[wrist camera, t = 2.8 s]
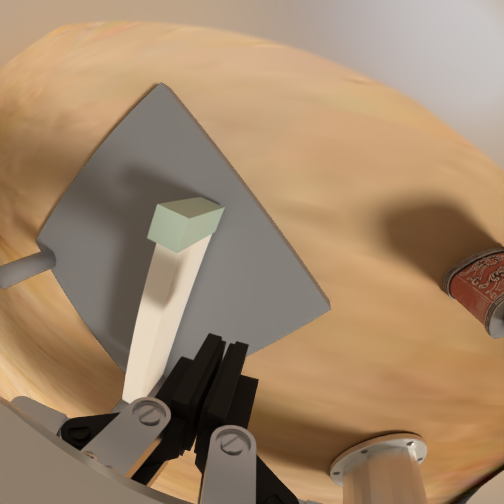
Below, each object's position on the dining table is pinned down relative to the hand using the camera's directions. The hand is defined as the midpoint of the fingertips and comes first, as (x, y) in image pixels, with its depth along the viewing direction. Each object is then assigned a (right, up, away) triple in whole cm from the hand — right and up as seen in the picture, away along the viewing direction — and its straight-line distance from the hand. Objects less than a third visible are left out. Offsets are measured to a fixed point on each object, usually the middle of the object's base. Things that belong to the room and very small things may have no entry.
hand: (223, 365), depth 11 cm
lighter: (+21, +3, +7) cm, 22 cm away
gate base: (-7, +4, +12) cm, 14 cm away
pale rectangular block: (-5, +1, +10) cm, 11 cm away
